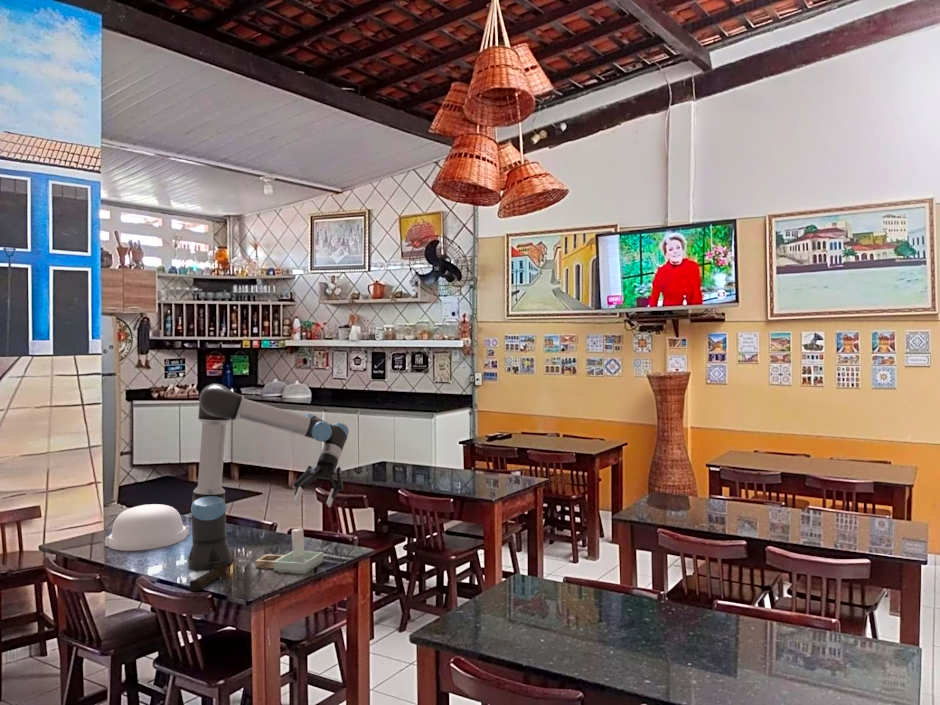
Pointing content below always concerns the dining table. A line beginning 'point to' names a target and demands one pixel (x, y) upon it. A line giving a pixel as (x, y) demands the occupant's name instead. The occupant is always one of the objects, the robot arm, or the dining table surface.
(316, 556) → the tray
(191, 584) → the hand tool
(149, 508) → the dome cover
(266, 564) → the slotted holder
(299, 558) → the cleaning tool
